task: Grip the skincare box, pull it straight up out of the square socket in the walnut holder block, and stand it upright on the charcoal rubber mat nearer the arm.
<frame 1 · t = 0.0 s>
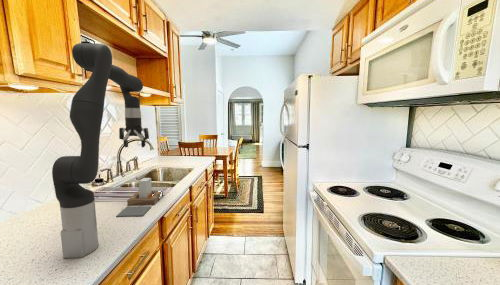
hand: (134, 147, 116), 29 cm above the worktop, tool pointing down, fingers open, 8 cm apart
slot block: (146, 200, 118), on the worktop
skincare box: (146, 200, 118), resting in slot block
mat: (134, 211, 105), on the worktop
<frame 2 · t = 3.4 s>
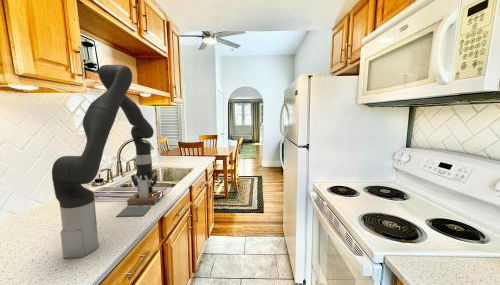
hand: (145, 192, 118), 4 cm above the worktop, tool pointing down, fingers closed on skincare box, 4 cm apart
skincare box: (146, 200, 118), resting in slot block, touching gripper
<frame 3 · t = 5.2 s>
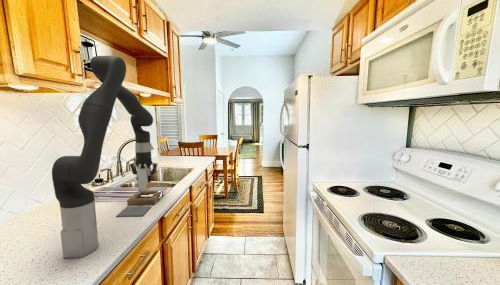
hand: (144, 181, 117), 11 cm above the worktop, tool pointing down, fingers closed on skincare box, 4 cm apart
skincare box: (145, 189, 117), point 6 cm above the worktop, touching gripper
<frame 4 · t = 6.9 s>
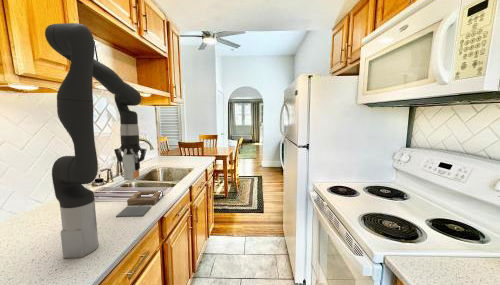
hand: (131, 170, 102), 21 cm above the worktop, tool pointing down, fingers closed on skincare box, 4 cm apart
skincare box: (132, 179, 102), point 16 cm above the worktop, touching gripper
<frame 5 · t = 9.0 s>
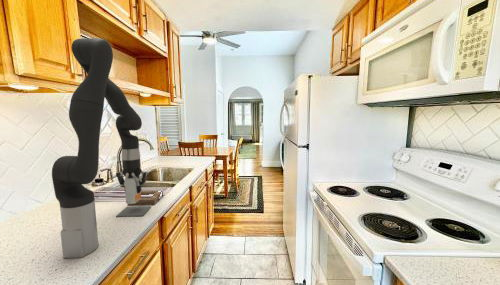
hand: (133, 192, 103), 10 cm above the worktop, tool pointing down, fingers closed on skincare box, 4 cm apart
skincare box: (134, 201, 104), point 5 cm above the worktop, touching gripper
when the fingers open (6 cm above the worktop, at t = 10.6 s): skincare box drops 1 cm, resting on mat.
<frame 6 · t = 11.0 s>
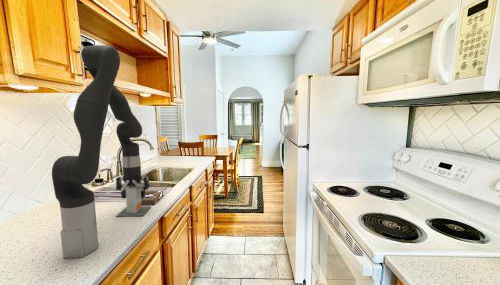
hand: (133, 197, 104), 7 cm above the worktop, tool pointing down, fingers open, 8 cm apart
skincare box: (134, 211, 104), resting on mat
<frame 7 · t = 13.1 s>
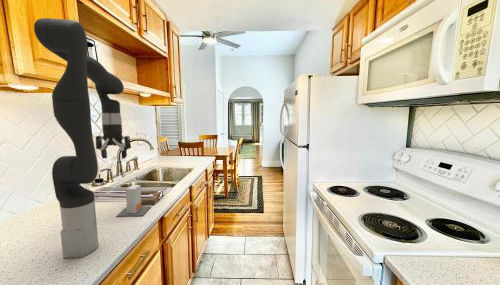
hand: (114, 158, 100), 27 cm above the worktop, tool pointing down, fingers open, 8 cm apart
nothing on the worktop moved.
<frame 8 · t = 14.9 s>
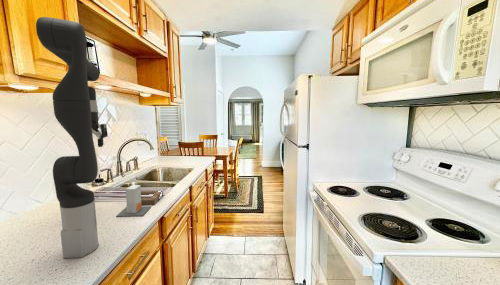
hand: (90, 146, 98), 32 cm above the worktop, tool pointing down, fingers open, 8 cm apart
nothing on the worktop moved.
at the end: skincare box inside the target area on the mat (0.1 cm from its centre), point 0.4 cm above the mat's base; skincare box tilted 0°; the gripper is holding nothing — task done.
